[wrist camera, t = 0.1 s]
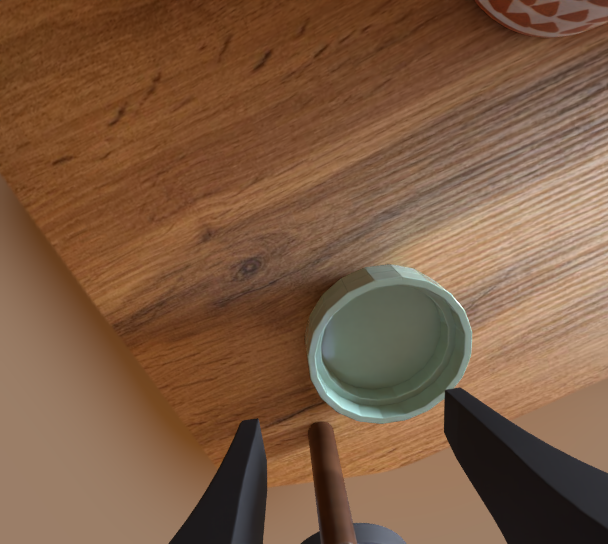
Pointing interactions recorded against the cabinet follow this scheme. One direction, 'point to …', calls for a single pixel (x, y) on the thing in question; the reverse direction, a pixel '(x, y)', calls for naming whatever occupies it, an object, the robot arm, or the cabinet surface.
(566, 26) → the planter
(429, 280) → the celadon bowl
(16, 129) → the cabinet surface
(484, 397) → the cabinet surface
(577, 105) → the cabinet surface
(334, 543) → the stirring stick
